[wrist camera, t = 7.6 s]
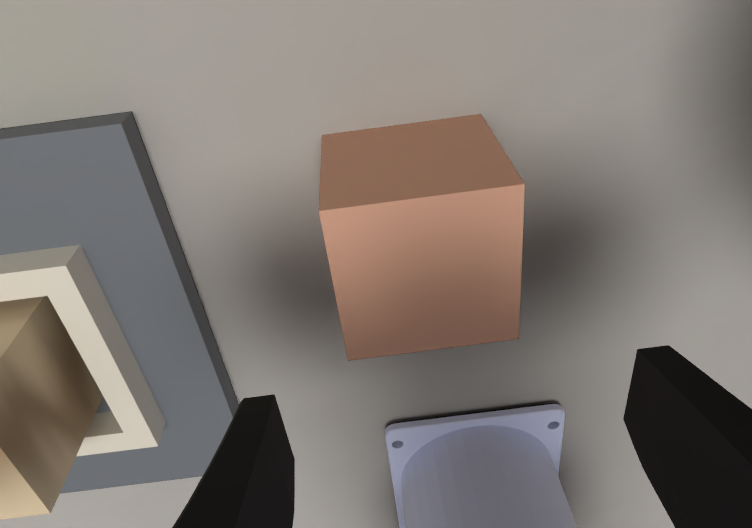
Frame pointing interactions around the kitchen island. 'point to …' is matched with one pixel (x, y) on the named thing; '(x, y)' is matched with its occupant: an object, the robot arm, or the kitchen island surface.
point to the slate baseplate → (114, 296)
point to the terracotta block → (422, 236)
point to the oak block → (39, 406)
